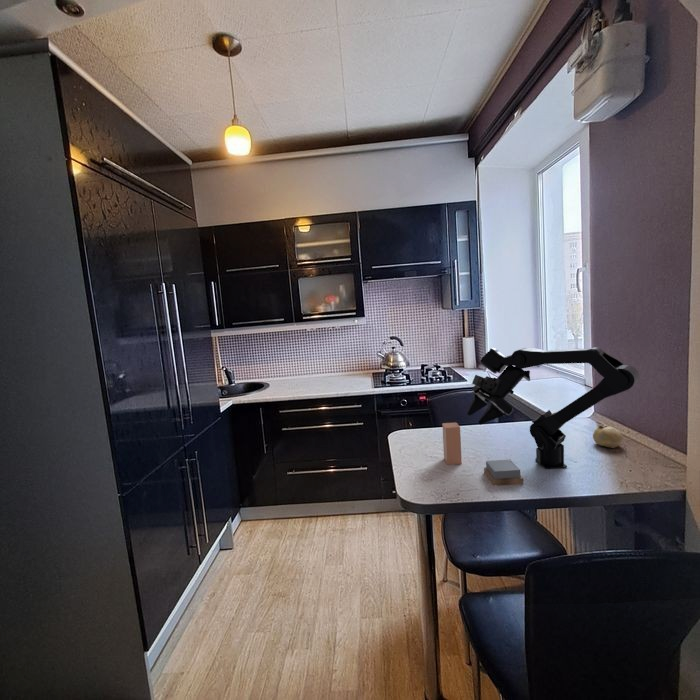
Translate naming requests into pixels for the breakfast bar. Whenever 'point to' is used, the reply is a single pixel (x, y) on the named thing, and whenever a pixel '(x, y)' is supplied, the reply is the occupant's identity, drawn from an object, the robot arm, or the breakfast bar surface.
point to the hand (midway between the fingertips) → (473, 419)
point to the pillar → (452, 443)
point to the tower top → (503, 469)
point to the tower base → (503, 481)
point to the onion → (607, 436)
